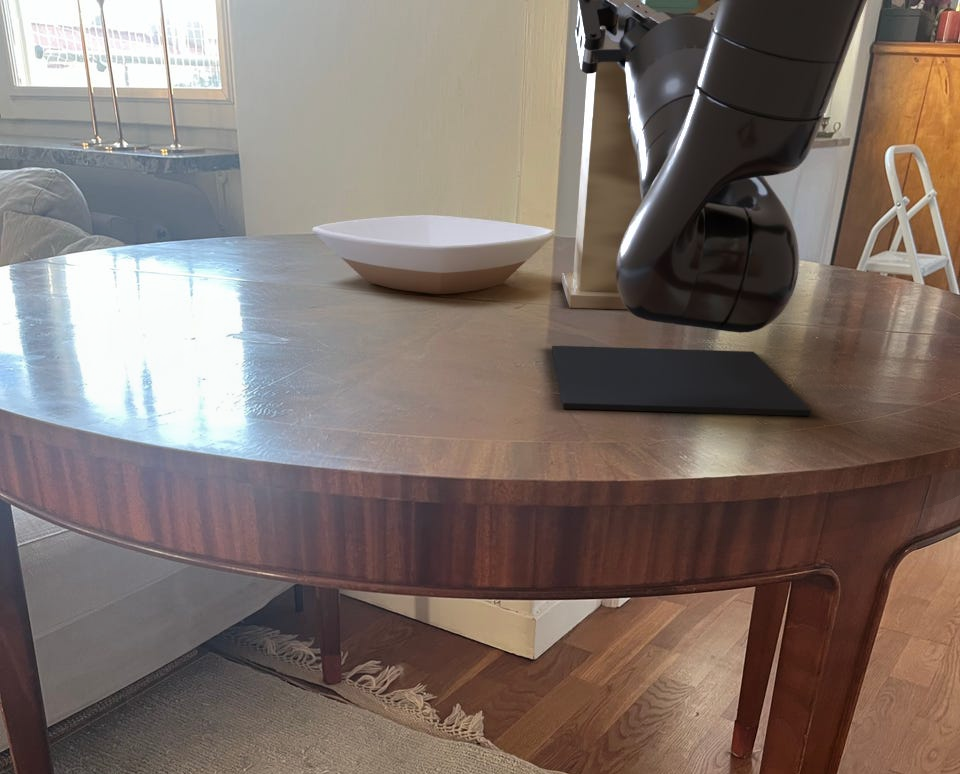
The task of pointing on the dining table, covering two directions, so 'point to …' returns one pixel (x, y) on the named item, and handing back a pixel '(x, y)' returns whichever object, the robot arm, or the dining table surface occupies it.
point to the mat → (671, 381)
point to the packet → (671, 5)
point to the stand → (605, 188)
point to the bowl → (433, 251)
